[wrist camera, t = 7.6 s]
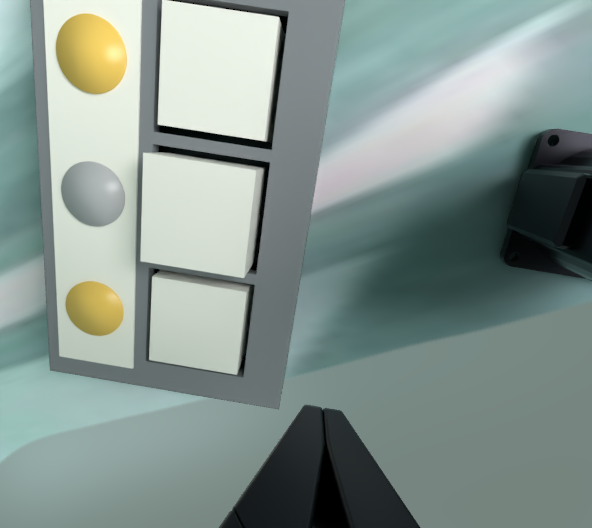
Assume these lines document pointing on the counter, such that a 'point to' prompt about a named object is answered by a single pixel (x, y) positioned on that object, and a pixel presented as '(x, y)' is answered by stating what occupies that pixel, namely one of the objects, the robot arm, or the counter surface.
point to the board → (128, 188)
